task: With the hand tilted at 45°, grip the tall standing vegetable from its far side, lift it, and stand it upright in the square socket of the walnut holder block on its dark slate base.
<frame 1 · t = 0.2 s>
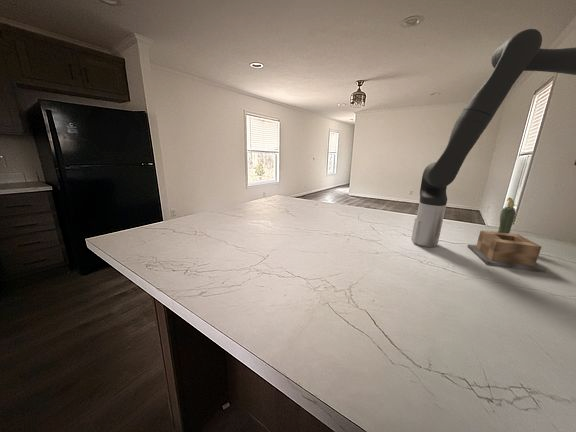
vegetable: (498, 244, 96), on the countertop
holder: (502, 258, 84), on the countertop
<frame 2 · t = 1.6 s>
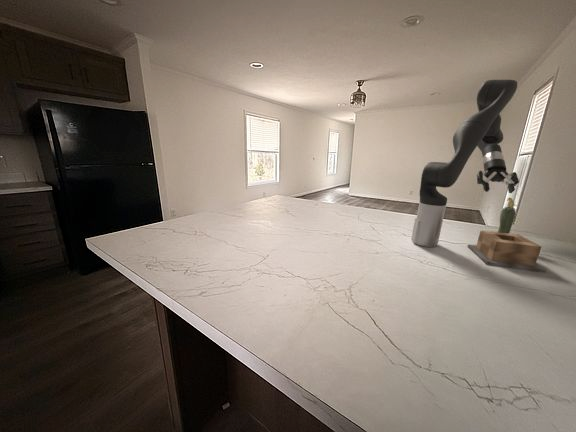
hand: (499, 191, 101), 21 cm above the countertop, tool tilted 45°, fingers open, 8 cm apart
nothing on the countertop moved.
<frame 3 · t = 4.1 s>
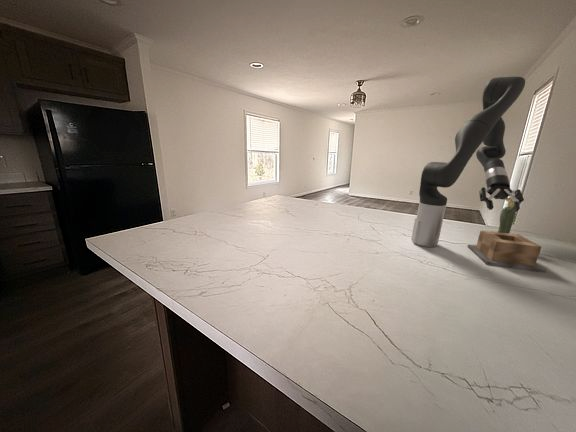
hand: (503, 209, 96), 14 cm above the countertop, tool tilted 45°, fingers open, 8 cm apart
nothing on the countertop moved.
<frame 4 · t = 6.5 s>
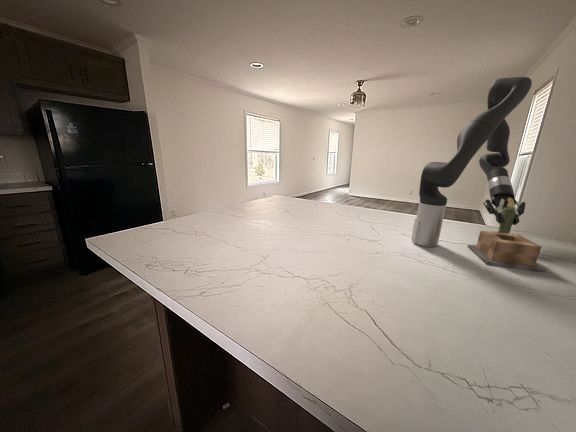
hand: (508, 223, 92), 10 cm above the countertop, tool tilted 45°, fingers closed on vegetable, 4 cm apart
vegetable: (498, 244, 96), on the countertop, touching gripper
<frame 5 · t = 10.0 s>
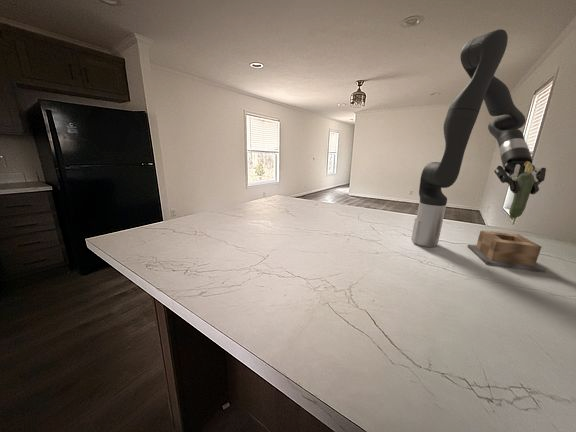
hand: (525, 192, 76), 25 cm above the countertop, tool tilted 45°, fingers closed on vegetable, 4 cm apart
vegetable: (512, 220, 80), point 14 cm above the countertop, touching gripper
when the fingers open (12 cm above the countertop, at t = 13.9 s): vegetable drops 1 cm, resting on holder.
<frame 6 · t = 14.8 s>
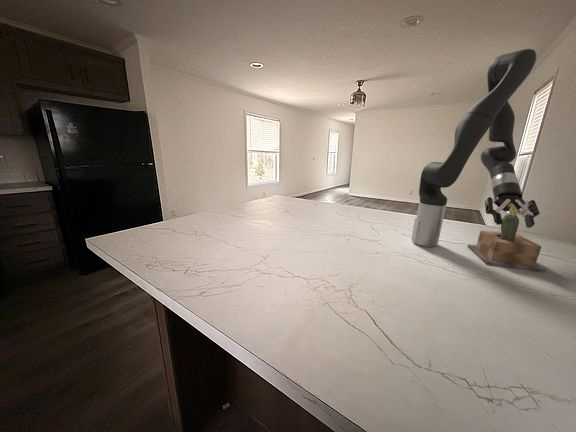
hand: (514, 225, 79), 13 cm above the countertop, tool tilted 45°, fingers open, 8 cm apart
vegetable: (502, 255, 84), point 1 cm above the countertop, touching gripper, holder
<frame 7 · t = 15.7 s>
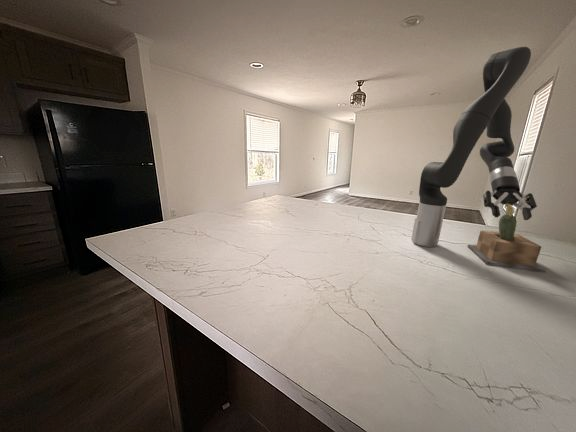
hand: (512, 217, 80), 15 cm above the countertop, tool tilted 45°, fingers open, 8 cm apart
vegetable: (502, 255, 84), point 1 cm above the countertop, touching holder
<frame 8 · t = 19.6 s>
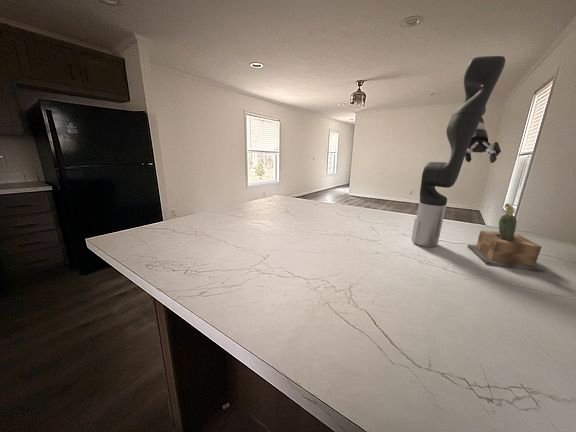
hand: (481, 161, 98), 34 cm above the countertop, tool tilted 45°, fingers open, 8 cm apart
nothing on the countertop moved.
at the end: vegetable 0.2 cm off-centre on the holder, point 0.9 cm above the holder's base; vegetable tilted 14°; the gripper is holding nothing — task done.
